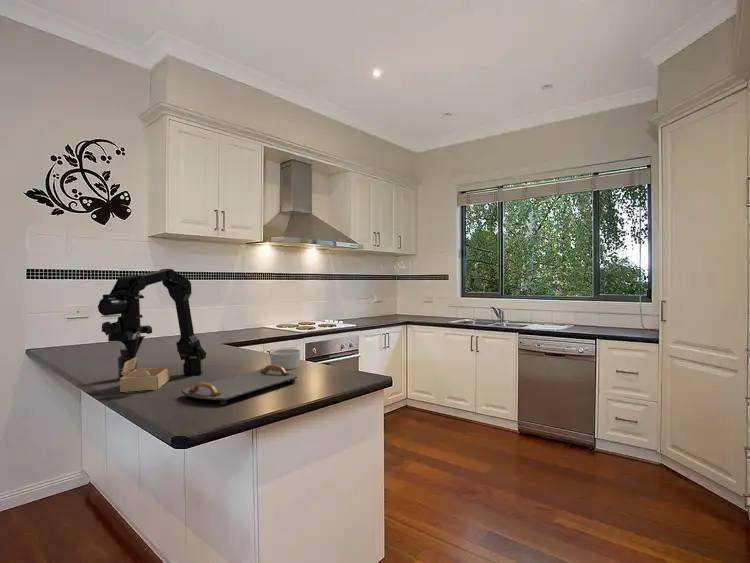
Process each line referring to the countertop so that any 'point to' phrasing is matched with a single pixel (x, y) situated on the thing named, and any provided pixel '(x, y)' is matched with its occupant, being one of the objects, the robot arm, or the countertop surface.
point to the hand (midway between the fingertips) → (132, 358)
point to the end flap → (136, 373)
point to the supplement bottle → (123, 361)
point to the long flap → (129, 365)
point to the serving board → (239, 384)
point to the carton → (146, 380)
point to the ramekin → (285, 358)
